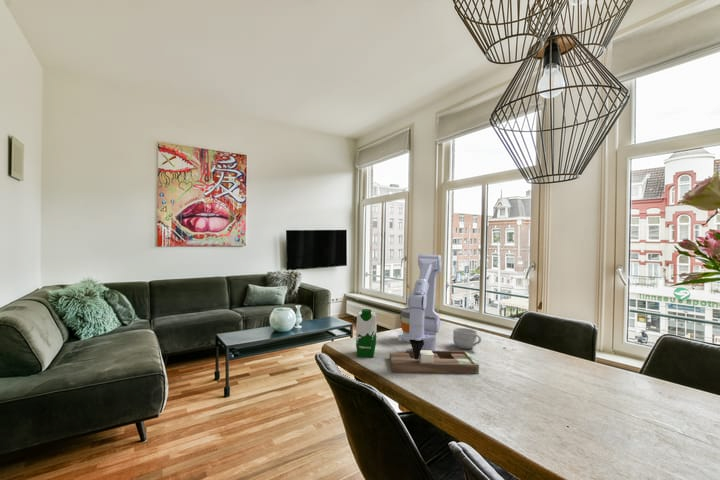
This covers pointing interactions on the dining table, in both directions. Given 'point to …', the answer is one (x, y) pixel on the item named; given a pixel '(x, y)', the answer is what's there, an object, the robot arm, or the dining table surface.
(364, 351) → the milk carton
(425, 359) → the block
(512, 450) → the dining table surface
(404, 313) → the reusable coffee cup
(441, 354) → the trap box
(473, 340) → the teacup
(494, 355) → the dining table surface
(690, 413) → the dining table surface
